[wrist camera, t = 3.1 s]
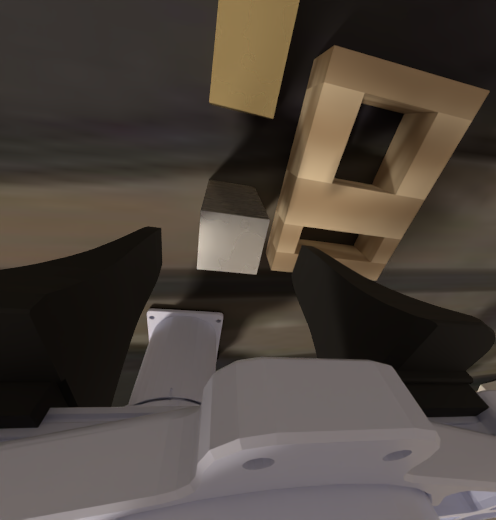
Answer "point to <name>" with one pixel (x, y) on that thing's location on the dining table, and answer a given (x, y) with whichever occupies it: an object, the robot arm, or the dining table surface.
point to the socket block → (391, 169)
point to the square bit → (231, 228)
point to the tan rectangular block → (251, 54)
